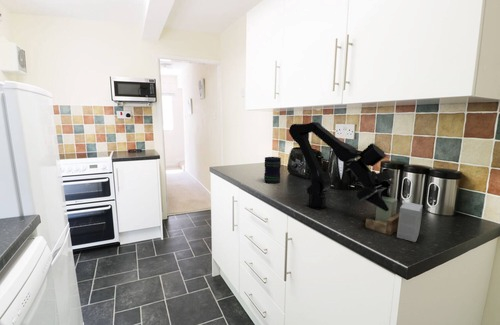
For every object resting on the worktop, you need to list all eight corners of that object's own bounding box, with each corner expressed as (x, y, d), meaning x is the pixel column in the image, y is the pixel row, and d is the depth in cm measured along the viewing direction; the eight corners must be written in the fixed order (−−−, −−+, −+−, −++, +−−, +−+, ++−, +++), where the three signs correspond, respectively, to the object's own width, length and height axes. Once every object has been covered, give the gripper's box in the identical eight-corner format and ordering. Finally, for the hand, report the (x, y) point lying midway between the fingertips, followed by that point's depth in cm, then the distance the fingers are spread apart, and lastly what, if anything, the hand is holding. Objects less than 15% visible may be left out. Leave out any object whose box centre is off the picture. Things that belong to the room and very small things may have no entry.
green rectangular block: (374, 224, 95) (377, 198, 93) (380, 221, 98) (383, 196, 96) (389, 229, 91) (392, 201, 89) (394, 226, 94) (397, 199, 92)
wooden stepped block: (365, 227, 94) (366, 214, 93) (380, 218, 102) (381, 206, 101) (390, 235, 87) (391, 221, 86) (403, 225, 95) (405, 212, 95)
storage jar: (260, 181, 159) (261, 157, 157) (271, 179, 166) (272, 156, 163) (272, 184, 152) (273, 159, 150) (283, 182, 159) (284, 158, 156)
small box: (400, 229, 92) (403, 201, 90) (419, 234, 88) (423, 204, 87) (396, 237, 86) (399, 207, 84) (415, 242, 82) (419, 211, 81)
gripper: (367, 163, 87) (399, 203, 81) (390, 158, 100) (419, 192, 93) (344, 181, 95) (372, 219, 88) (368, 175, 107) (393, 207, 100)
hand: (390, 209), depth 92 cm, fingers closed on green rectangular block, 4 cm apart
